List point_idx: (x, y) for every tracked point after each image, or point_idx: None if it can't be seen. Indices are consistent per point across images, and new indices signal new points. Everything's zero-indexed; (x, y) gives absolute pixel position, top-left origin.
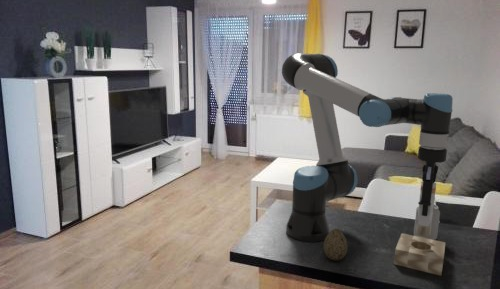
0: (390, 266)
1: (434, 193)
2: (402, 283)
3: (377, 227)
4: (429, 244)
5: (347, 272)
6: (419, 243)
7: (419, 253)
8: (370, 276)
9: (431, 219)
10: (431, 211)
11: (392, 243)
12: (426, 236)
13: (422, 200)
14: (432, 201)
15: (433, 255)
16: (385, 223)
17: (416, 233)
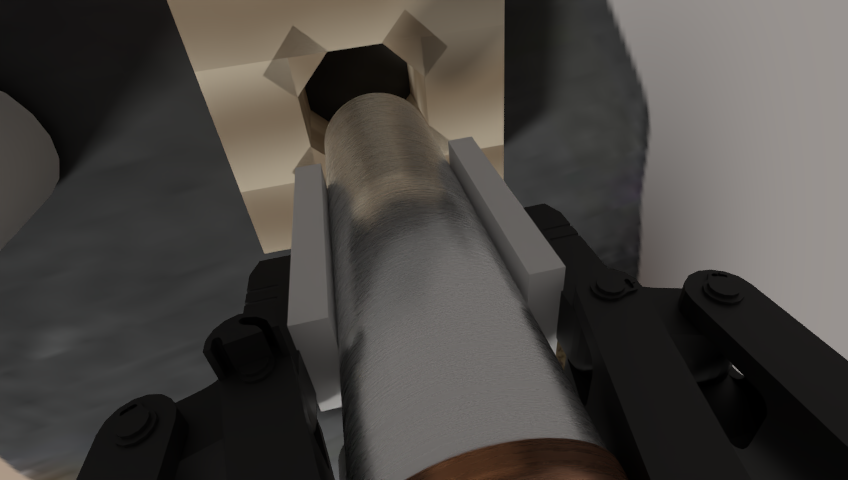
0: (505, 170)
1: (537, 424)
2: (632, 81)
3: (126, 356)
4: (305, 70)
5: (624, 261)
6: (307, 131)
7: (491, 88)
8: (623, 197)
9: (412, 154)
10: (459, 208)
11: (256, 245)
12: (27, 133)
13: (750, 388)
14: (506, 303)
15: (471, 3)
16: (26, 356)
17: (44, 197)
